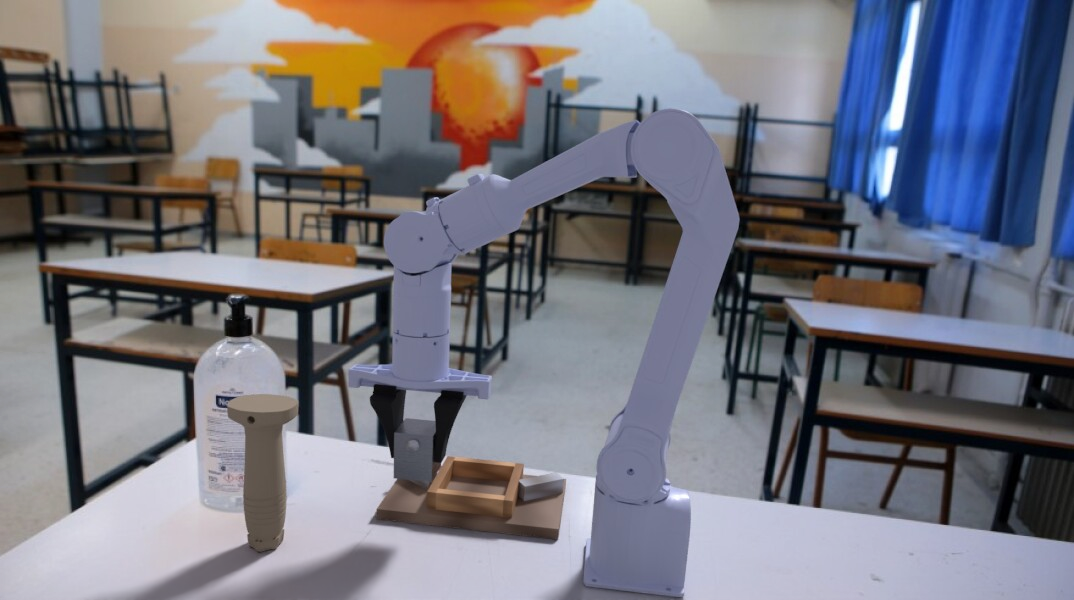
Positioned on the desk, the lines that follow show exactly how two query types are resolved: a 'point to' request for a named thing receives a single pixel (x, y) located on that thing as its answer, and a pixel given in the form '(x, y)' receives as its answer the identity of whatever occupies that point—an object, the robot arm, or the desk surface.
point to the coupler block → (415, 450)
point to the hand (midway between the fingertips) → (418, 456)
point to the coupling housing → (480, 499)
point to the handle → (264, 464)
